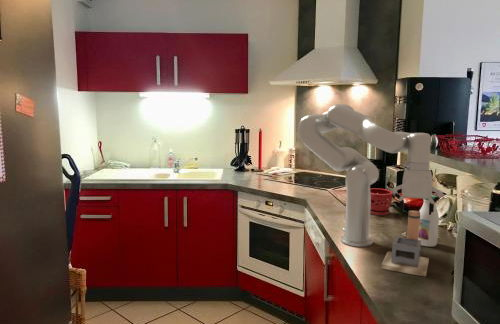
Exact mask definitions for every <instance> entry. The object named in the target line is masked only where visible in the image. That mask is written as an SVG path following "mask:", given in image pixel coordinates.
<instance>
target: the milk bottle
mask: <svg viewBox="0 0 500 324" xmlns="http://www.w3.org/2000/svg"><path fill="white" fill-rule="evenodd" d="M435 197H437V195H434V194H432V198H433V199H434V198H435ZM429 204H430V201H429V200H428V199H423V204H422V206H421V207H420V209H419V210H418V212H420V223H419V237H418V240H421V246H423V247H436V246H437V244H438V235H439V223H440V222H439V221H440V219H439V218H440V217H439V211H438V209H437V206H436V202H435V203H434V211H433V212H431V215H429Z"/></svg>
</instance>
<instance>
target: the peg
mask: <svg viewBox="0 0 500 324" xmlns="http://www.w3.org/2000/svg"><path fill="white" fill-rule="evenodd" d="M407 218H408V219H407V230H406V238H410V239H417V240H418V237H419V223H420V212H419V210H408V214H407Z"/></svg>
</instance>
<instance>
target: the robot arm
mask: <svg viewBox="0 0 500 324" xmlns="http://www.w3.org/2000/svg"><path fill="white" fill-rule="evenodd" d="M297 129H298V130H297V131H298V137H299V139H300V140H301V143H302V144H303V145H304V146H305V147H306V148H307V149H308V150H310V151H311V152H312V153H313V154H314V155H316V156H317V157H318V158H319V159H320V160H321V161H323V162H324V163H325V164H326V165H327V166H328V167H329V168H330V169H333V170H334V171H336V172H342V171H343V172H344V171H346V175H345V179H344V180H345V189H346V194H345V195H346V197H345V222H344V223H345V224H344V226H345V227H343V228H342V229H341V230H342V231H343V232H344V233H343V235H341V237H340V242H341V243H343V244H344V245H348V246H350V247H360V248H361V247H369V246H372V245H373V244H374V243H373V238H371V237H370V227H371V226H370V222H371V214H370V208H371V193H370V189H371V186H372V185H373V184H375V183H376V182H377V181H378V179H379V175H380V174H379V169H378V168H377V166H376V165H375V164H374V163H373V162H372V161H371V160H369V159H368V158H367V157H365V156H364V155H363V154H361V153H360V152H359V151H358V150H356V149H354V148H352V147H350V146H343V147H341V146H339V145H338V144H336V143H335V142H334V141H332V140H331V139H329V138H328V137H326V136H324V135H323V134H325V133H328V132H331V131H334V130H337V129H342V130H344V131H346V132H347V133H350V134H353V135H355V136H356V137H358V138H360V139H362V140H363V141H364V142H366V143H367V144H369V145H371V146H372V147H374V148H377V149H379V150H382V151H384V152H386V153H390V154H397V153H400V152H407V160H406V161H407V162H403V163H402V167H405V168H406V169H404V171H403V176H402V184H400V185H397V186H395V187H393V188H391V191H392V194H393V196H394V197H395V198H396V199H397V200H398V201H399V204H398V209H399V210H400V213H403V212H404V209H405V200H404V199H405V198H409V199H410V198H411V199H421V200H424V199H428V200H429V201H430V204H429V215H431V212H433V211H434V203H435V204H436V203H437V202H438V201H439V200H440V199H441V198H442V196H443V194H444V192H443V191H441V190H440V189H438V188H436V187H434V186H433V175H432V171H431V170H430V162H431V161H430V160H431V143H432V141H431V140H432V138H431V135H430V134H429V133H428V132H427V133H425V132H405V131H394V132H393V131H391V130H388V129H387V128H384V127H382V126H379V124H376V123H375V122H373V120H372V119H371V117H370V116H367V115H366V114H363V113H361V112H358V111H356V110H354V108H353V107H352V106H351V105H349V104H340V103H339V104H338V103H337V104H334V105H332V106H330V107H329V109H328V110H327V111H326V112H322V113H316V114H315V113H313V114H308V115H307V114H306V115H304V117H302V118H300V121H299V123H298V127H297ZM399 190H401V195H400V193H398V191H399ZM433 192H434V193H435V194H437V195H436V197H435V198H434V199H433V198H432V195H433Z"/></svg>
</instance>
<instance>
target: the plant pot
mask: <svg viewBox="0 0 500 324" xmlns="http://www.w3.org/2000/svg"><path fill="white" fill-rule="evenodd" d="M370 193H371V208H370V215H374V216H386V215H388V214H390V207H391V205H392V201H393V191H392V190H390V189H386V188H385V189H384V188H379V187H378V188H376V187H374V188H373V187H372V188H371V187H370Z"/></svg>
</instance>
